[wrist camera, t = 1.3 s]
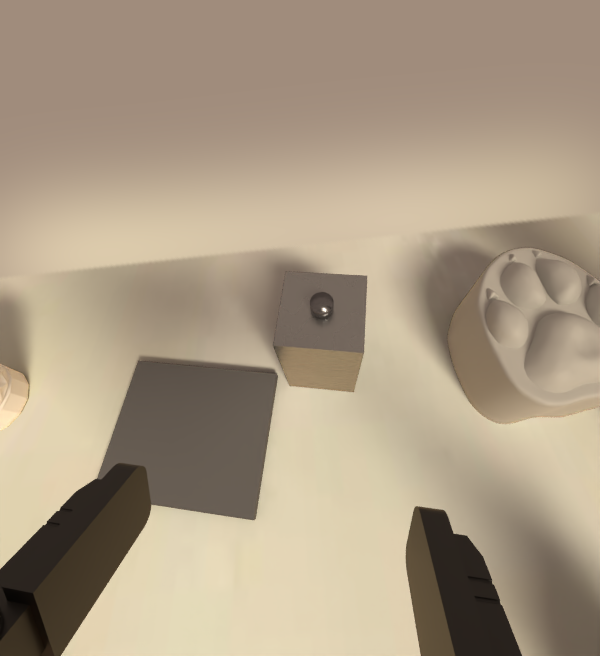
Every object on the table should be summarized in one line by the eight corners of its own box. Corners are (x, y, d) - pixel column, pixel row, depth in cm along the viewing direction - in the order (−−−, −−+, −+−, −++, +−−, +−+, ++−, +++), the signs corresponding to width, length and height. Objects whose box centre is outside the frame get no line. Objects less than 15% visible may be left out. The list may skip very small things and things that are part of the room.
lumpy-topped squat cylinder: (474, 428, 28) (529, 407, 20) (431, 298, 34) (461, 243, 26) (597, 412, 28) (701, 385, 20) (532, 284, 33) (594, 224, 26)
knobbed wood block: (356, 333, 33) (368, 267, 23) (353, 392, 30) (365, 347, 20) (297, 328, 33) (284, 263, 24) (289, 385, 31) (270, 339, 21)
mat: (277, 376, 31) (276, 373, 31) (255, 519, 26) (253, 520, 26) (142, 363, 33) (138, 360, 32) (97, 494, 28) (91, 495, 27)
